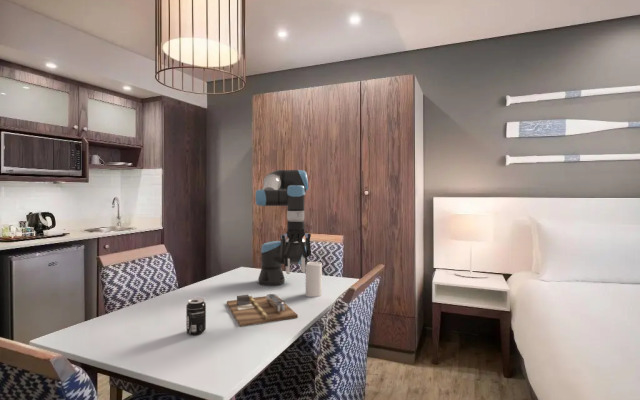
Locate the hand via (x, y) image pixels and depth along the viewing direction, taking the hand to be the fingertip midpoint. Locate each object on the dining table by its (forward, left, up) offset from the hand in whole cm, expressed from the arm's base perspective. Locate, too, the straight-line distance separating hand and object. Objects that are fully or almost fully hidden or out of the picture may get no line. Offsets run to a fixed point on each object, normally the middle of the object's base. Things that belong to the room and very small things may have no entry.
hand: (295, 272), depth 153 cm
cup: (-19, +17, -17) cm, 31 cm away
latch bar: (-4, -8, -14) cm, 17 cm away
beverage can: (+7, -42, -17) cm, 46 cm away
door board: (-7, -14, -17) cm, 23 cm away
